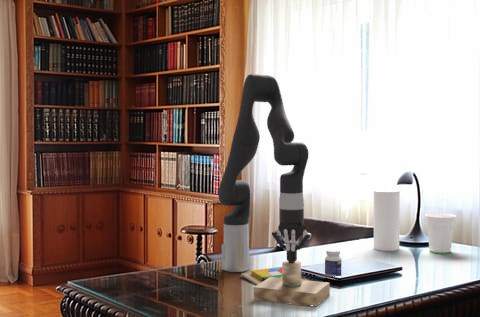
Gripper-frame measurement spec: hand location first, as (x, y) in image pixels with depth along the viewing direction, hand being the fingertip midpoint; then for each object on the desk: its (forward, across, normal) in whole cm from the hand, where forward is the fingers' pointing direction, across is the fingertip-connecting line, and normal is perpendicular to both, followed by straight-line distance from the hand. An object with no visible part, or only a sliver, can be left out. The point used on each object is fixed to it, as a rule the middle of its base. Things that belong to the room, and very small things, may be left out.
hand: (291, 262), depth 201 cm
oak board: (+11, 0, 0) cm, 11 cm away
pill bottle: (+11, +5, +28) cm, 31 cm away
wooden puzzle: (+12, -13, +19) cm, 26 cm away
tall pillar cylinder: (+11, +11, +88) cm, 89 cm away
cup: (+11, +33, +89) cm, 96 cm away
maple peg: (+10, 0, 0) cm, 11 cm away
